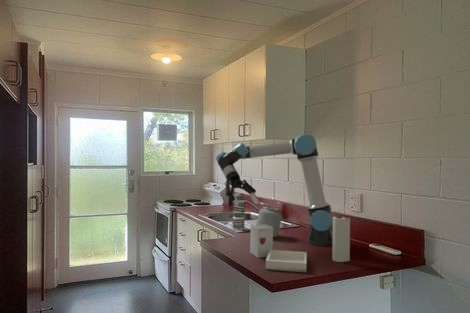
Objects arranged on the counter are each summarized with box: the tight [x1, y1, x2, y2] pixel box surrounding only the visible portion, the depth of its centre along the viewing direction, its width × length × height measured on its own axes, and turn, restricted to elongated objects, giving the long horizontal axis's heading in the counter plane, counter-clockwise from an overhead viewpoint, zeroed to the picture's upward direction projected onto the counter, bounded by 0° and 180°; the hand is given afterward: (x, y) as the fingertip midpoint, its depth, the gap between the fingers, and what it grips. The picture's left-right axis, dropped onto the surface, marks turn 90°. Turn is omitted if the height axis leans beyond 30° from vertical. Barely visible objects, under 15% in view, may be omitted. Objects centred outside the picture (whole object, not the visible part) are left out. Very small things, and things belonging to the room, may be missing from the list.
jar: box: [255, 197, 283, 238], centre depth 215 cm, size 19×15×25 cm
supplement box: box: [249, 224, 274, 259], centre depth 175 cm, size 9×9×15 cm
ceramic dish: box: [265, 249, 308, 273], centre depth 159 cm, size 18×18×4 cm
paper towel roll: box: [331, 216, 351, 263], centre depth 166 cm, size 7×6×21 cm
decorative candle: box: [231, 192, 246, 231], centre depth 237 cm, size 9×9×25 cm
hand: (247, 204), depth 184 cm, fingers open, 13 cm apart
